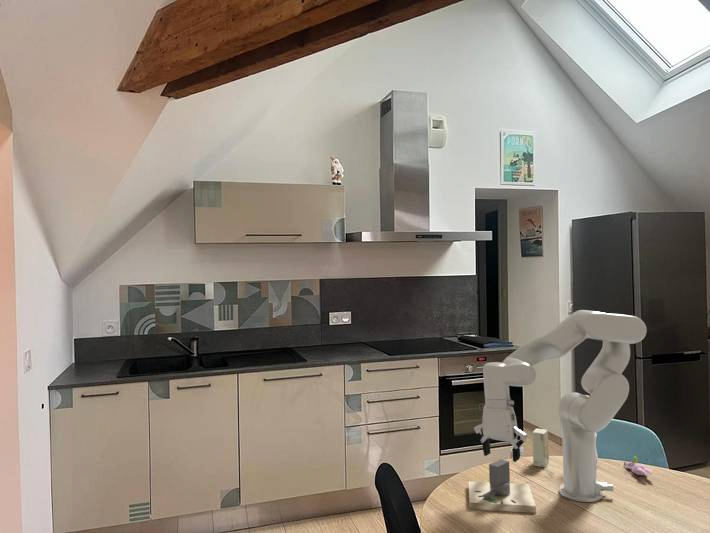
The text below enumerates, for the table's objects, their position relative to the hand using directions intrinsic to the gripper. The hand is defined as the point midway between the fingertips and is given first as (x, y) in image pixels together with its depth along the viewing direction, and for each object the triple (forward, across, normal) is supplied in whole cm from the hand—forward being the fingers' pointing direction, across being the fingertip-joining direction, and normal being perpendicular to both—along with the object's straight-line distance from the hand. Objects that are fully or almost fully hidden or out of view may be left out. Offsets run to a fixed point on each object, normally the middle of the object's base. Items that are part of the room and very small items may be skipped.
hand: (501, 457), depth 162 cm
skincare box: (+14, +2, -35) cm, 38 cm away
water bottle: (+15, -11, -44) cm, 48 cm away
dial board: (+13, +1, +1) cm, 13 cm away
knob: (+11, +1, +3) cm, 11 cm away
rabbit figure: (+15, -27, -46) cm, 56 cm away
